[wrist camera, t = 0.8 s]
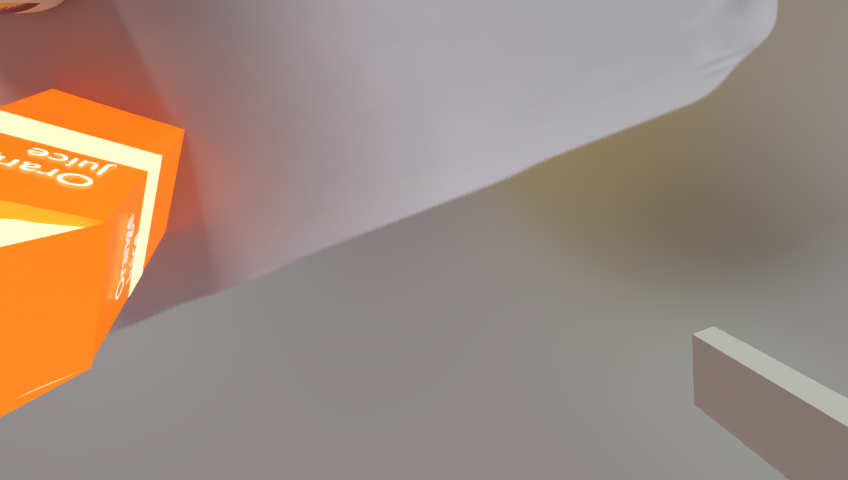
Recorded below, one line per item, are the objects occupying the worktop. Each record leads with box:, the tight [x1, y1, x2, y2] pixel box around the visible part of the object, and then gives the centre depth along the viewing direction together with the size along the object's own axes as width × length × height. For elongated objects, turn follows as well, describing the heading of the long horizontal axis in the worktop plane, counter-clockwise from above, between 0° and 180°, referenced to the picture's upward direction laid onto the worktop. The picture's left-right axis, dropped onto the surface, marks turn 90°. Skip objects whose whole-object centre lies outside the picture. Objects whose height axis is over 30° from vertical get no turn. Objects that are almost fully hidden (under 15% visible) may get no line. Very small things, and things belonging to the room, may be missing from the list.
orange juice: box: [0, 89, 185, 417], centre depth 20 cm, size 8×9×20 cm
